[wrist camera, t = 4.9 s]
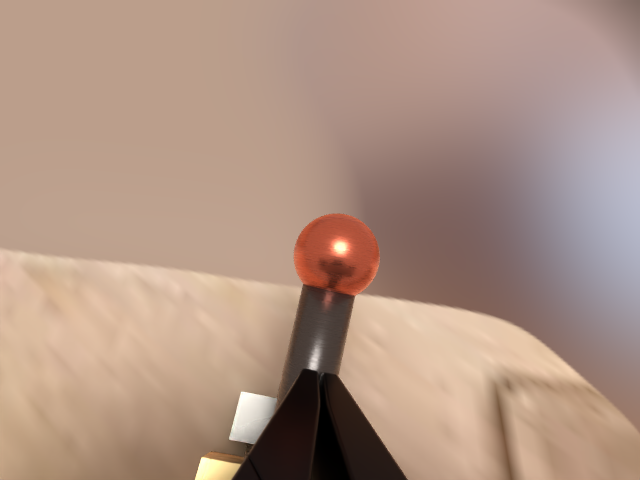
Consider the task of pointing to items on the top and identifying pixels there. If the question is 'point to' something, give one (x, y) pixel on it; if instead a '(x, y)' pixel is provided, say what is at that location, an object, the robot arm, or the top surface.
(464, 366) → the top surface
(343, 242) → the valve lever
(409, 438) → the top surface
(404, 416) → the top surface
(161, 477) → the top surface
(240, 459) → the valve pipe
